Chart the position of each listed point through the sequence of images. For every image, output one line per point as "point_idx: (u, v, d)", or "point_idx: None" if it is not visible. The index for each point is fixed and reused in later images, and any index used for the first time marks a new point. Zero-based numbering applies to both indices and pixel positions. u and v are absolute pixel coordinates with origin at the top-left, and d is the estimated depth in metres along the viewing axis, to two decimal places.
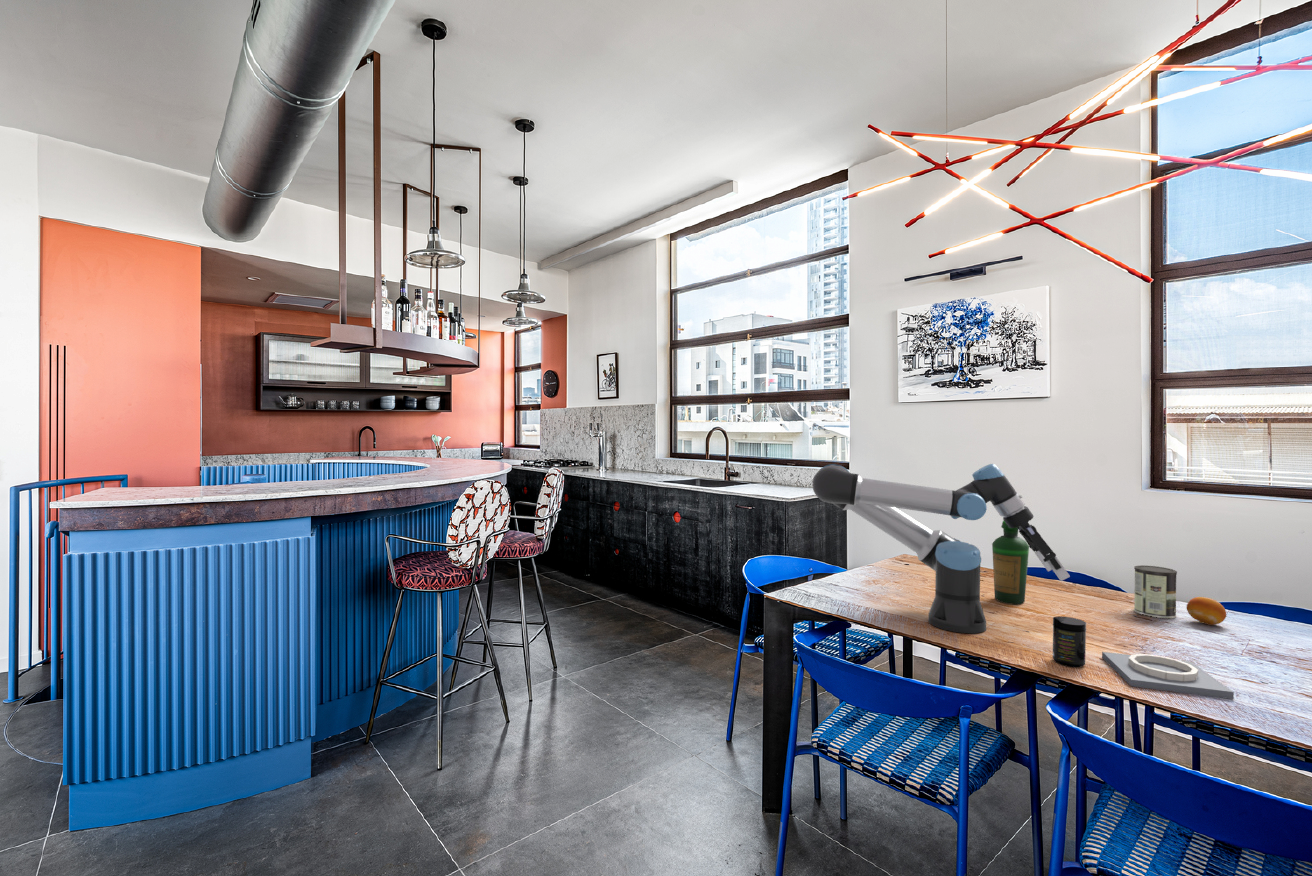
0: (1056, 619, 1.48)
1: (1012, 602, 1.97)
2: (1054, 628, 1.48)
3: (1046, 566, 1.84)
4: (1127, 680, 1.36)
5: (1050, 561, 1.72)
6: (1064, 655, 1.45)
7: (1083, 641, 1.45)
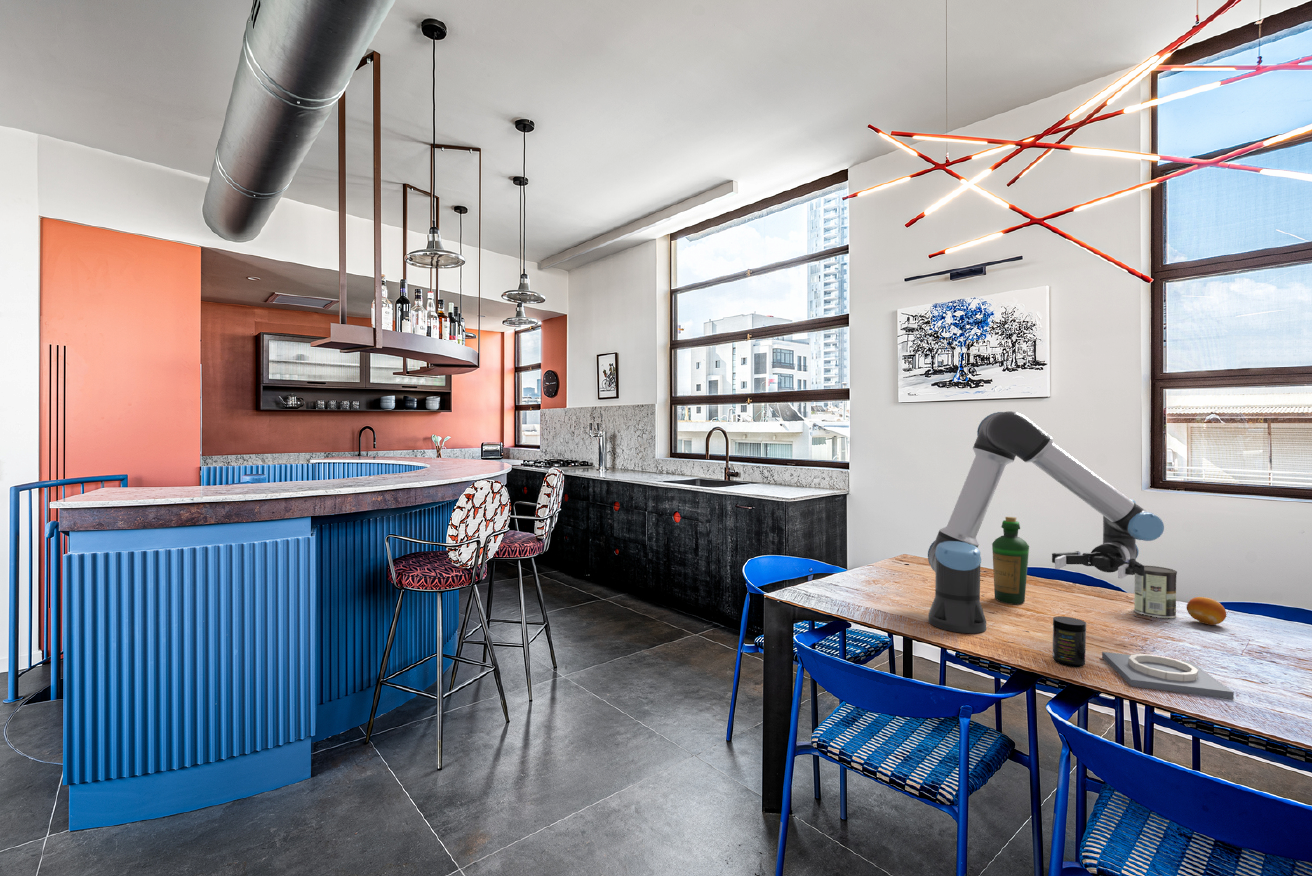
0: (1056, 619, 1.48)
1: (1012, 602, 1.97)
2: (1054, 628, 1.48)
3: (1060, 559, 1.61)
4: (1127, 680, 1.36)
5: (1132, 567, 1.52)
6: (1064, 655, 1.45)
7: (1083, 642, 1.45)
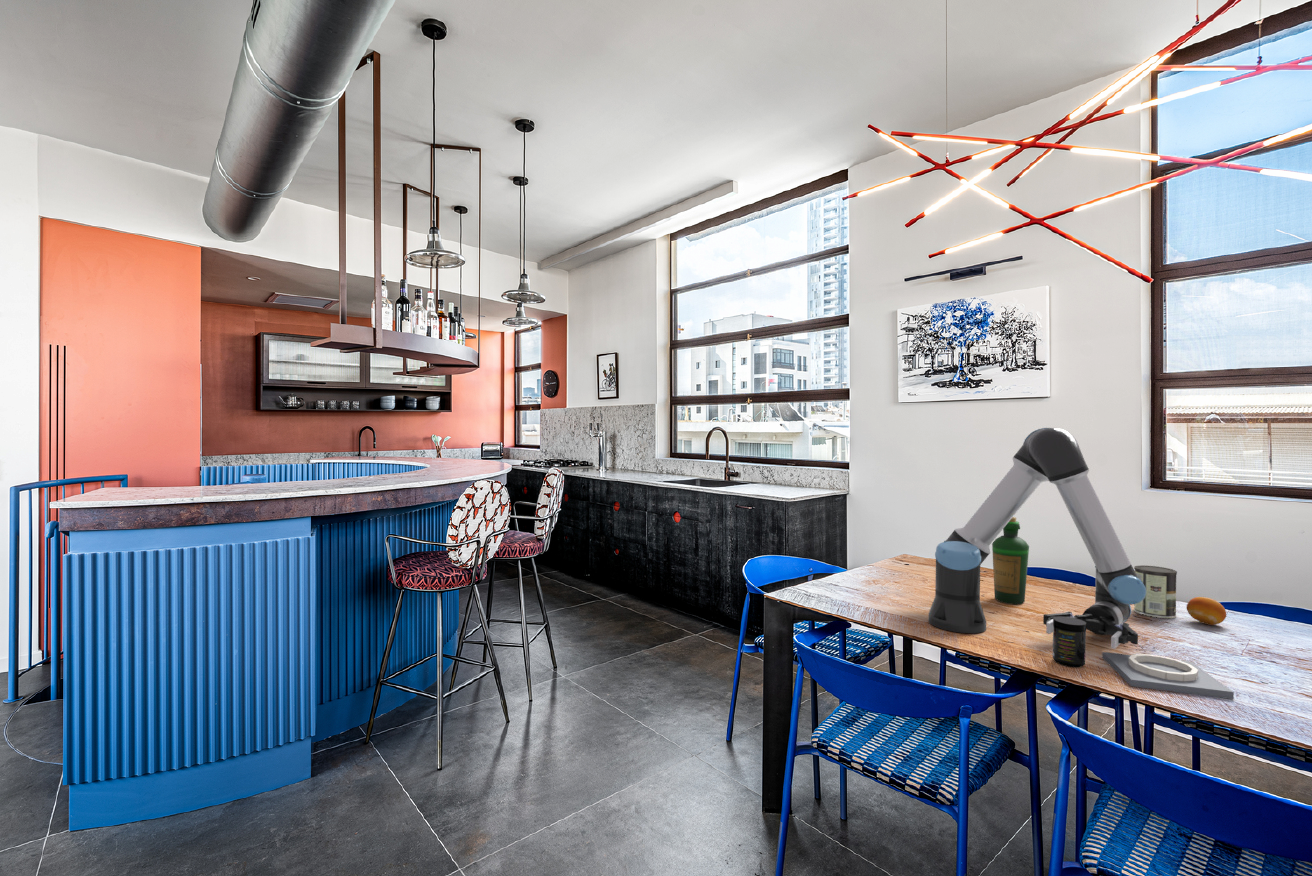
0: (1056, 619, 1.48)
1: (1012, 602, 1.97)
2: (1054, 628, 1.48)
3: (1051, 623, 1.56)
4: (1127, 680, 1.36)
5: (1125, 635, 1.48)
6: (1064, 655, 1.45)
7: (1083, 642, 1.45)
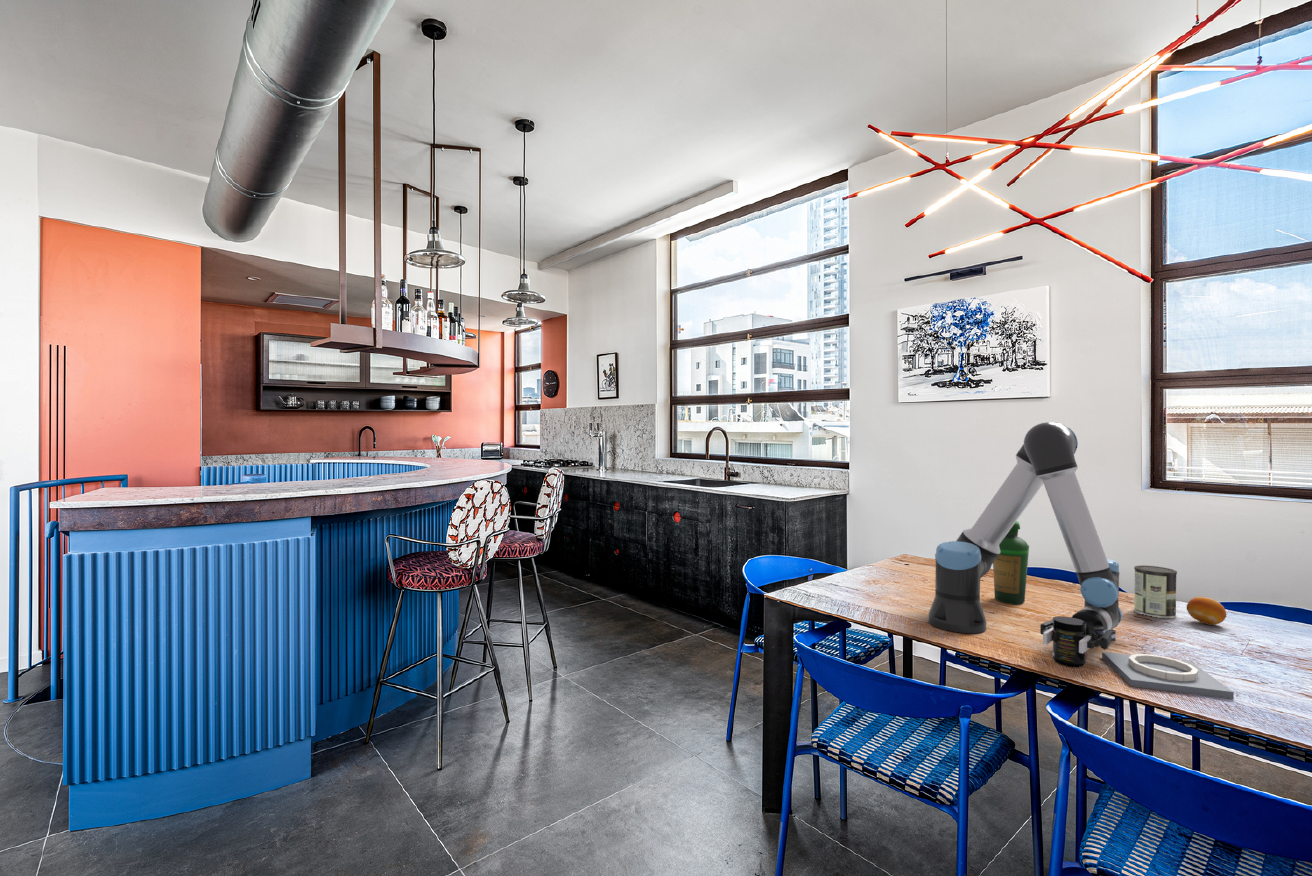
0: (1056, 619, 1.48)
1: (1012, 602, 1.97)
2: (1054, 628, 1.48)
3: (1048, 634, 1.48)
4: (1127, 680, 1.36)
5: (1095, 640, 1.44)
6: (1064, 655, 1.45)
7: None
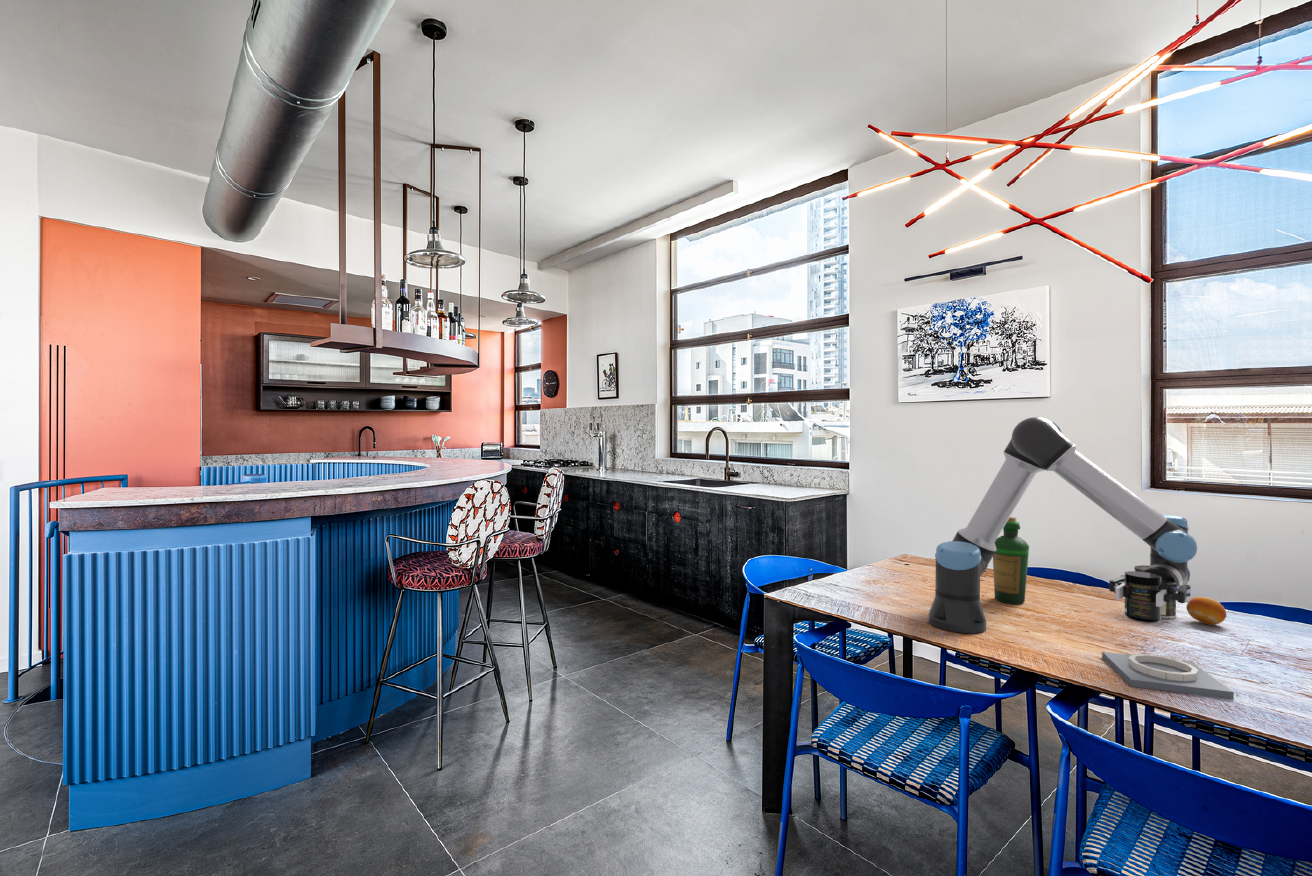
0: (1128, 573, 1.42)
1: (1012, 602, 1.97)
2: (1126, 583, 1.41)
3: (1121, 589, 1.41)
4: (1127, 680, 1.36)
5: (1171, 594, 1.38)
6: (1138, 610, 1.39)
7: None
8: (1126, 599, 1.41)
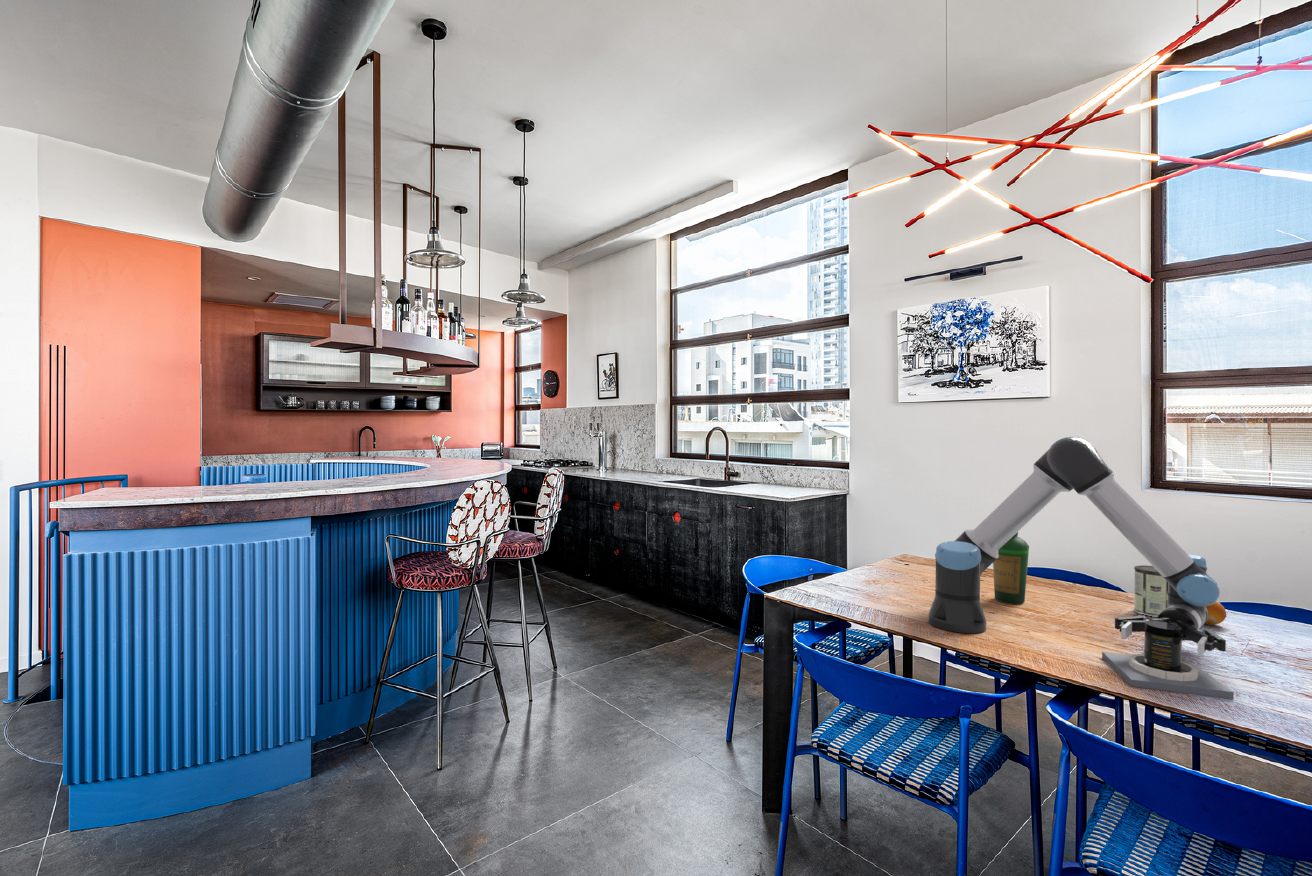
0: (1149, 623, 1.40)
1: (1012, 602, 1.97)
2: (1147, 633, 1.40)
3: (1126, 628, 1.43)
4: (1127, 680, 1.36)
5: (1212, 641, 1.35)
6: (1159, 662, 1.38)
7: (1180, 647, 1.37)
8: (1146, 649, 1.40)
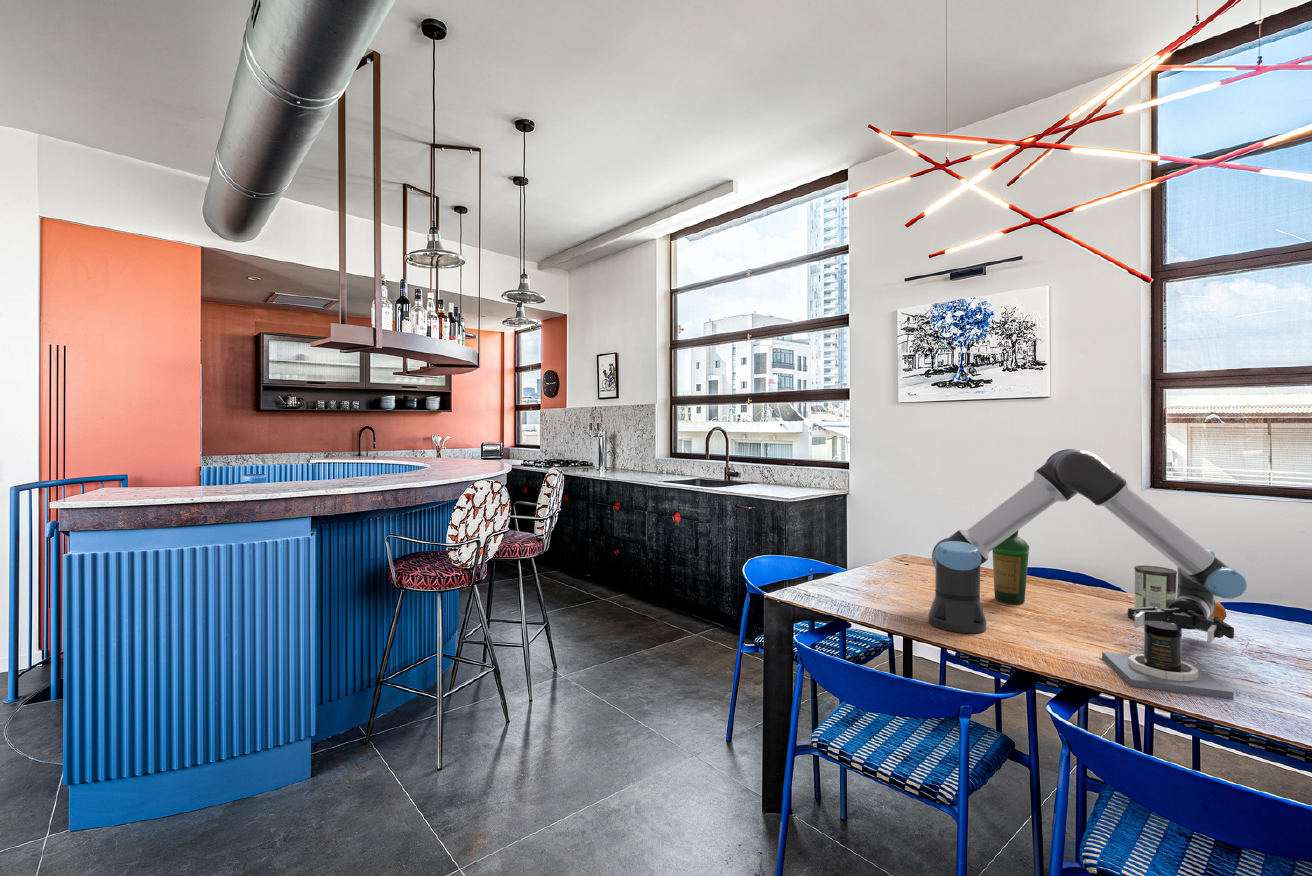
0: (1148, 624, 1.40)
1: (1012, 602, 1.97)
2: (1146, 633, 1.40)
3: (1139, 617, 1.52)
4: (1127, 680, 1.36)
5: (1221, 629, 1.44)
6: (1159, 662, 1.38)
7: (1180, 647, 1.37)
8: (1146, 650, 1.40)
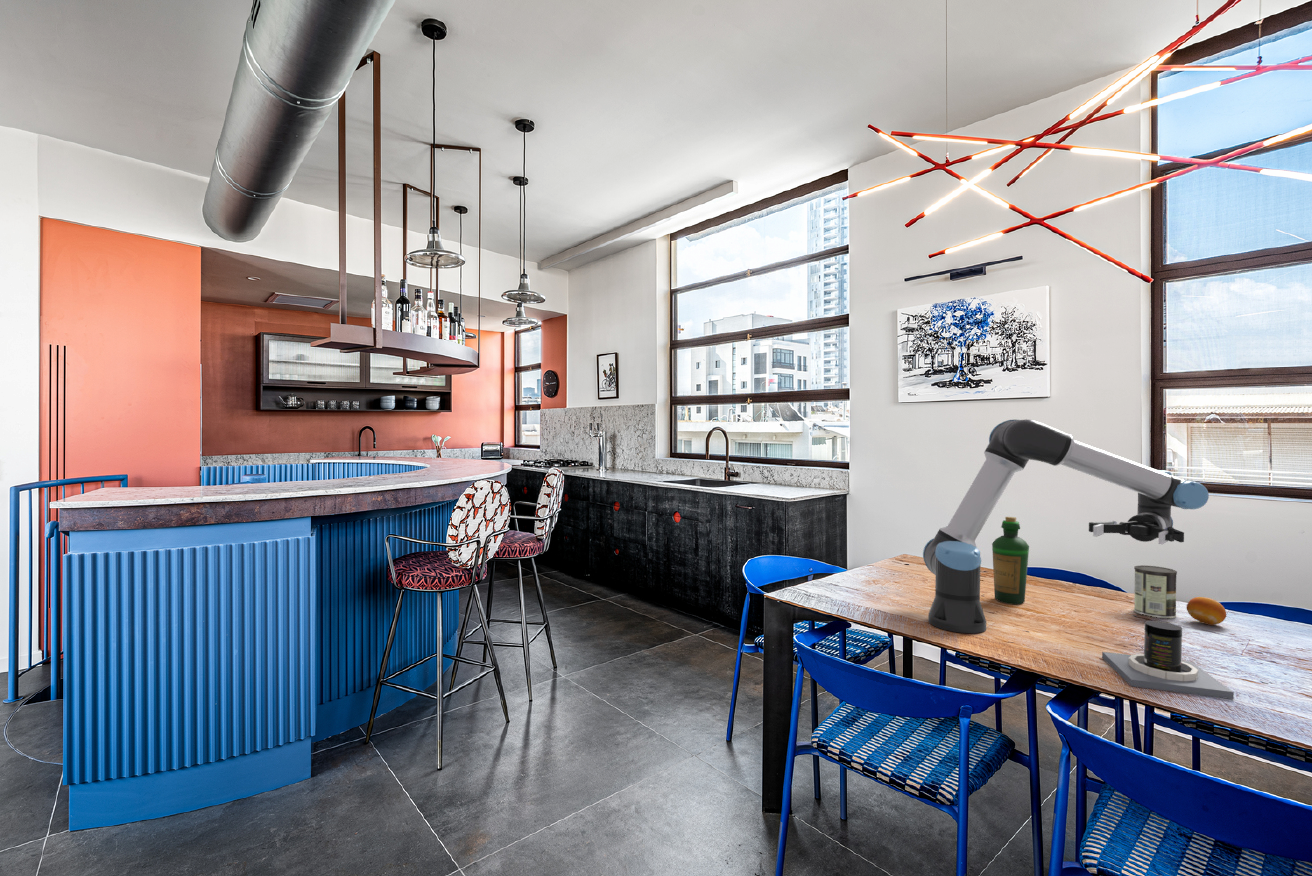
0: (1149, 624, 1.40)
1: (1012, 602, 1.97)
2: (1147, 633, 1.40)
3: (1098, 527, 1.62)
4: (1127, 680, 1.36)
5: (1172, 534, 1.54)
6: (1159, 662, 1.37)
7: (1180, 647, 1.37)
8: (1146, 649, 1.40)
